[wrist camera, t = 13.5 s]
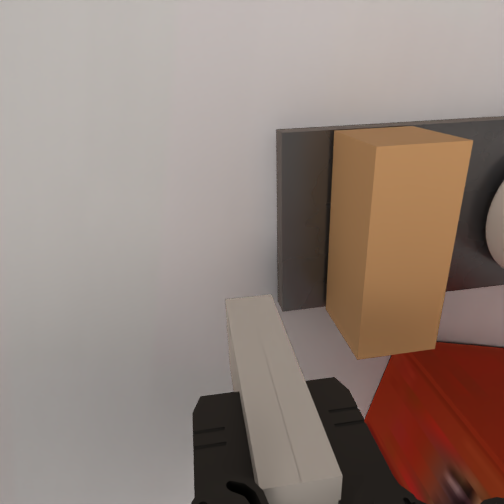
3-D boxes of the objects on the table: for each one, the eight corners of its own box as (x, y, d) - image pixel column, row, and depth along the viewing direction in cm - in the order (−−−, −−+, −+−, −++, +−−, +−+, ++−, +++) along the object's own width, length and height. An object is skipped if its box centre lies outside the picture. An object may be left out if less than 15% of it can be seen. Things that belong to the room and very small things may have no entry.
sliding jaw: (325, 308, 24) (357, 359, 19) (334, 130, 20) (376, 146, 15) (390, 301, 24) (434, 348, 20) (412, 125, 20) (473, 140, 16)
